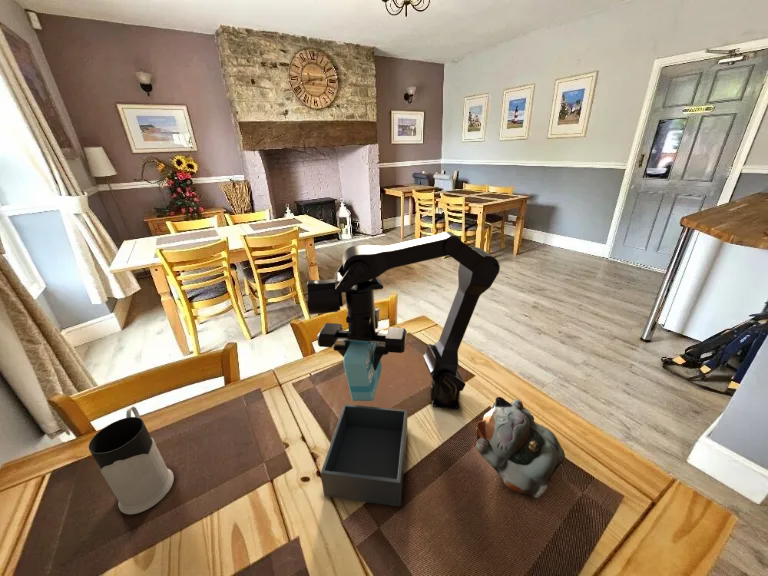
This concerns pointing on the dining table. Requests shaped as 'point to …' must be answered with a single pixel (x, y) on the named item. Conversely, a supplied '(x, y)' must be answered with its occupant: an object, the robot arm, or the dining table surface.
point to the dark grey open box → (367, 455)
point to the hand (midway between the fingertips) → (364, 368)
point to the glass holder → (131, 463)
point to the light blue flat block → (361, 370)
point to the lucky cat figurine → (518, 447)
